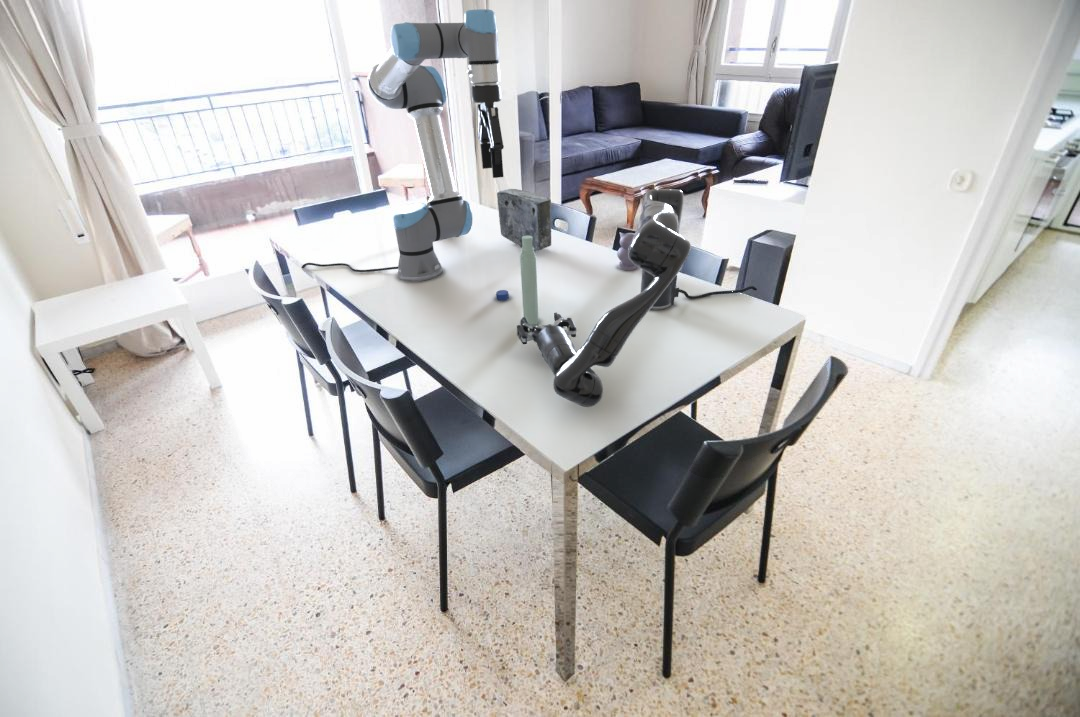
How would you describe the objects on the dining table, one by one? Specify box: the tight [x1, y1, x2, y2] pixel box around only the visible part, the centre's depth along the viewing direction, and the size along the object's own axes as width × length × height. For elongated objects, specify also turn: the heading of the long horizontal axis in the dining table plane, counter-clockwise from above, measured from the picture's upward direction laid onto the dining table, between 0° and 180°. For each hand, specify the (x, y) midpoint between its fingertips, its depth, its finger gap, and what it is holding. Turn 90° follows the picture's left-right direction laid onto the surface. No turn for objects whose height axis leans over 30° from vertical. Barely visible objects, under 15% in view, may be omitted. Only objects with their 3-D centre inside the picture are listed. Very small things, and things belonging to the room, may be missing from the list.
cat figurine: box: [616, 231, 638, 271], centre depth 171 cm, size 9×8×12 cm
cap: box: [495, 289, 510, 302], centre depth 155 cm, size 4×4×2 cm
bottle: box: [519, 236, 539, 325], centre depth 135 cm, size 4×4×25 cm
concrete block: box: [496, 188, 552, 251], centre depth 192 cm, size 27×9×20 cm, turn 36°
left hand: (492, 172), depth 136 cm, fingers open, 13 cm apart
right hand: (539, 318), depth 130 cm, fingers open, 8 cm apart
